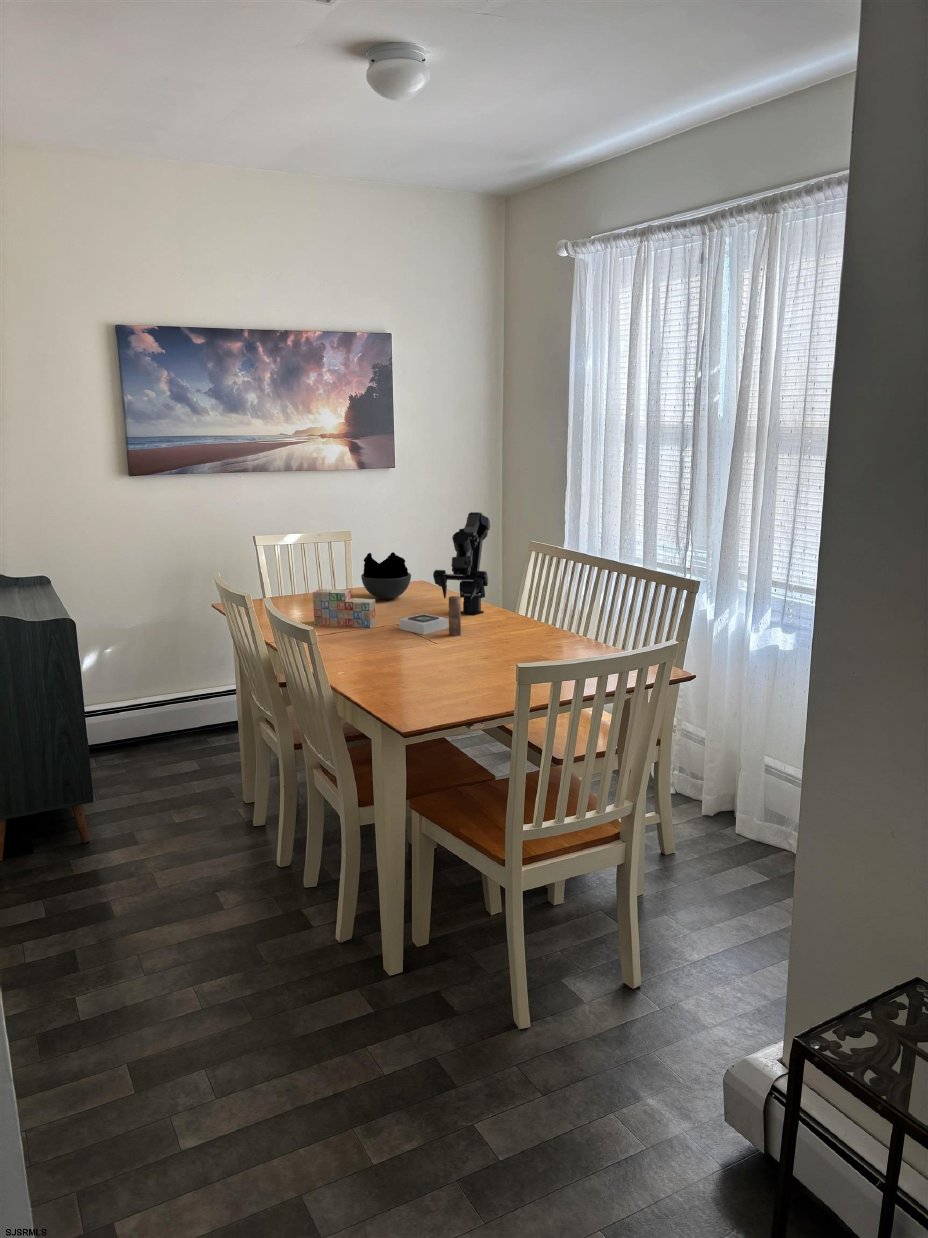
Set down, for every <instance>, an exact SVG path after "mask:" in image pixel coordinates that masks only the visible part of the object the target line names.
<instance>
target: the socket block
mask: <svg viewBox="0 0 928 1238" xmlns="http://www.w3.org/2000/svg"><path fill="white" fill-rule="evenodd" d="M398 620H399V621H398V623H399V624H398V625H399V626H398V628H399V630H401V631H402V630H403V631H406V632H411V633H415V634H420V635H427V634H431V633H434V632H435V633H436V632H439V631H443V630H446V629H449V618H447V617H442V616H437V615H432V614H427V613H421V614H417V615H411V616H407V617H404V618H399V619H398Z"/></svg>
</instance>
